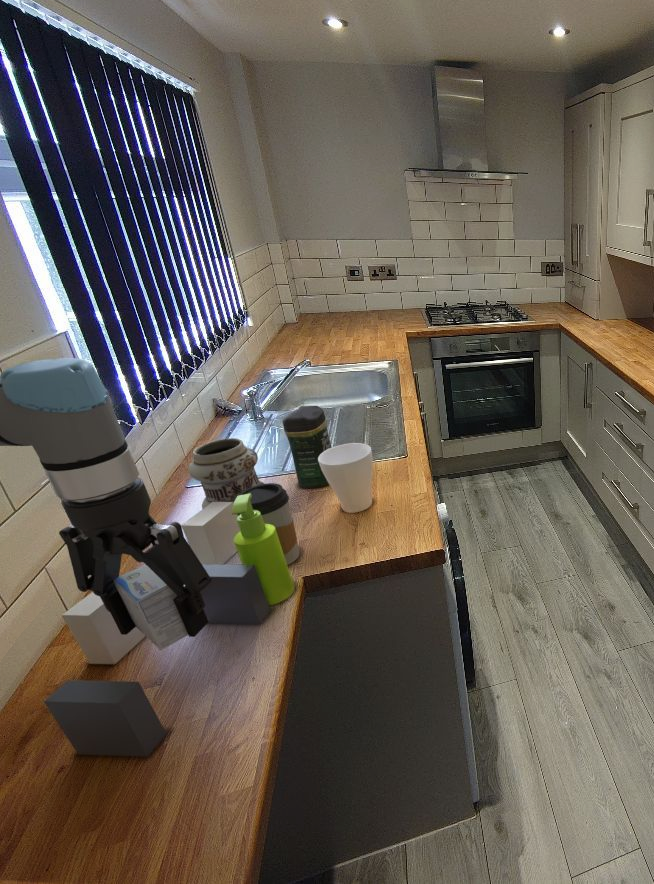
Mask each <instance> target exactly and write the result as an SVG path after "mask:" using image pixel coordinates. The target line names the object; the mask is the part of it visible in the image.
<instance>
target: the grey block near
mask: <svg viewBox="0 0 654 884" xmlns="http://www.w3.org/2000/svg"><path fill="white" fill-rule="evenodd" d="M43 703H44V705H45V706H46V707H47V709H48V710H49V712H50V713H51V714H50V715H52V717H53V719H54V720H55V721H56V723H57V724H58V726H59V728H60V729H61V731H62V732H63V734H64V736H65V737H66V738H67V740H68V741H69V743H70V744H71V746H72V748H73V749H74V750H75V752H76V754H77V755H81V756H82V755H84V756H85V755H86V756H87V755H88V756H114V757H115V756H118V757H119V756H120V757H149V756H150V755H151V753H152V752H153V751H154V750H155V748H156V747H157V746H158V745H159V744H160V743H161V741H162V740H163V739H164V738H165V737H166V736H167V732H166V730H165V728H164V727H163V725H162V723H161V721H160V719H159V717H158V715H157V713H156V711H155V709H154V708H153V705H152V704H151V702H150V700H149V698H148V697H147V694H146V693H145V690H144V688H143V687H142V685H141V683H140V681H124V680H123V681H121V680H119V681H118V680H86V679H85V680H83V679H81V680H80V679H67V680H66V681H65V682H64V683H63V684H62V685H60V686H59V687H58V688H57V689H56V690H54V691H53V693H51V694H50V695H49V696H48V697H46V698H45V699H44V700H43Z"/></svg>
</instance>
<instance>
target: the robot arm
mask: <svg viewBox="0 0 654 884" xmlns="http://www.w3.org/2000/svg"><path fill="white" fill-rule="evenodd" d="M30 446H31V447H32V448H33V450H34V452H35V453H36V455H37V457H38V459H39V462H40V464H41V466H42V469H43V470H44V472H45V474H46V477H47V479H48V481H49V483H50V485H51V487H52V489H53V491H54V494H55V495H56V497H57V498H59V499H61V503H60V504H61V506H62V508H63V510H64V512H65V514H66V516H67V518H68V520H69V523H70V524H69V525H67V526H66V527H64V528H62V529H61V530H59V531H58V534H59V536H60V538H61V540H62V541H63V542H64V544H65V545H66V547H67V552H68V555H69V560H70V563H71V567H72V571H73V575H74V578H75V583H76V586H77V590H78V591H80V592H82V593H86V592H88V591H92V592H93V593H94V594H95V595H97V596H100V598H101V600H102V602H103V603H104V606H105V608H106V609H107V610H108V611H109V612H110V613H111V615H112V617H113V619H114V621H115V623H116V625H117V627H118V629H119V631H120V633H121V635H127V634H128V633H129V632H130V631H131V630H133V629H134V628H135V627H136V626H135V624H134V622H133V620H132V618H131V617H130V614H129V612H128V610H127V608H126V606H125V604H124V602H123V600H122V598H121V596H120V594H119V592H118V590H117V588H116V586H115V583H114V579H116V578H118V577H120V573H121V565H122V557H123V555H127V556H131V557H132V558H133V559H134V561H136V562H137V563H144V564H145V565H147V566H148V567H149V568H150V569H151V570H152V571H153V572H154V573H155V574H156V575H157V576H158V577H159V578H160V579H161V580H162V581H163V582H164V583H165V584H166V585H167V586H168V587H169V588H170V589H171V590H172V591H174V592H175V593H176V594H177V595H178V596H177V597H175V598H174V599H173V601H174V603H175V605H176V608H177V610H178V612H179V614H180V617H181V619H182V621H183V624H184V626H185V628H186V631H187V633H188V635H187V636H188V637H189V638H195V637H196V636H197V635H198V634H199V633H200V632H201V631H202V630H203V629H204V628H205V627H206V626H207V624H209V623H208V619H207V617H206V614H205V612H204V609H203V608H204V607H205V603H204V601H203V599H202V596H201V593H200V592H201V591H202V590H203V589H204V588H205V587H206V586H207V585H208V584H209V583H210V582H211V581H212V580H211V578H210V576H209V575H208V573H207V572H206V570H205V569H204V567H203V565H202V564H201V562H200V561H199V559H198V558H197V556H196V555H195V553H194V552H193V550H192V549H191V547H190V546H189V543H188V541H187V538H186V537H185V534H184V531H183V529H182V526H181V525H182V524H181V523H180V522H178V521H173V522H171V523H170V524H168V525H165V524H159V523H157V521H156V520H155V519H154V518H153V517H152V516H151V515H150V508H151V505H152V499H151V497H150V495H149V492H148V490H147V488H146V485H145V482H144V480H143V479H142V478H140V477H139V476H140V472H139V469H138V467H137V464H136V462H135V459H134V456H133V454H132V452H131V450H130V447H129V444H128V442H127V440H126V438H125V435H124V433H123V430H122V427H121V425H120V423H119V420H118V417H117V414H116V413H115V410H114V408H113V404H112V402H111V400H110V394H109V391H108V389H107V388H106V387H105V386H104V384H103V381H102V379H101V378H100V377H99V374H98V373H97V370H96V368H95V367H94V365H93V364H92V363H90V362H89V361H87V360H84V359H82V358H75V357H60V358H52V359H50V358H49V359H48V358H47V359H39V360H34V361H28V362H24V363H20V364H17V365H14V366H11V367H8V368H6V369H5V370H3V371H2V372H1V374H0V447H30ZM151 545H152V546H151ZM150 546H151V547H150ZM148 547H149V548H148ZM147 548H148V549H147ZM146 549H147V550H146ZM145 550H146V551H145Z"/></svg>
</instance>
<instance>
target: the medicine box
mask: <svg viewBox="0 0 654 884" xmlns="http://www.w3.org/2000/svg"><path fill="white" fill-rule="evenodd" d="M114 583H115V586H116V588H117V590H118V592H119V594H120V596H121V598H122V600H123V602H124V604H125V606H126V608H127V610H128V612H129V614H130V617H131V618H132V620H133V622H134V624H135V626H136V627H137V628H138V629H139V630H140V631H141V632H142V633H143V634H144V635H145V638H147V639H148V640H149V641H150V642H151V643H152V644H154V646H155V647H157V648H158V650H160V651H162V650H164V649H166V648H168V647H169V646H171V645H173V644H175V643H177V642H178V641H180V640H182V639H183V638H185V637H187V636H189V635H188V633H187V631H186V628H185V626H184V624H183V621H182V619H181V617H180V614H179V612H178V610H177V608H176V605H175V603H174V601H173V599H174V598H175V597H177V596H178V595H177V594H176V593H175V592H174V591H172V590H171V589H170V588H169V587H168V586H167V585H166V584H165V583H164V582H163V581H162V580H161V579H160V578H159V577H158V576H157V575H156V574H155V573H154V572H153V571H152V570H151V569H150V568H149V567H148V566H147V565H146V564H145V565H142V566H139V567H137V568H135V569H133V570H131V571H128V572H126V573H124V574H122V575H119V577H118V578H116V579H114Z"/></svg>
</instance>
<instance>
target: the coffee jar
mask: <svg viewBox="0 0 654 884" xmlns="http://www.w3.org/2000/svg"><path fill="white" fill-rule="evenodd" d="M282 428H283V432H284V434H285V436H286V438H287V441H288V444H289V447H290V452H291V457H292V461H293V465H294V469H295V474H296V479H297V482H298V483H297V484H298V485H299V487H300V488H304V489H315V488H321V487H325V486H328V485H329V483H328V481H327V479H326V478H325V476H324V474H323V472H322V470H321V467H320V464H319V462H318V457H319V455H320V454H321V453H322V452H324V451H326V450H327V449H330V448H332V447H333V446H332V444H331V439H330V436H329V430H328V423H327V418H326V415H325V411H324V410H323V408H321V407H320V406H319V405H300V406H299V407H298V408H296V409H294V410H293V411H291V412H290V413H288V414H287V416H285V417H284V418H283V419H282Z"/></svg>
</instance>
